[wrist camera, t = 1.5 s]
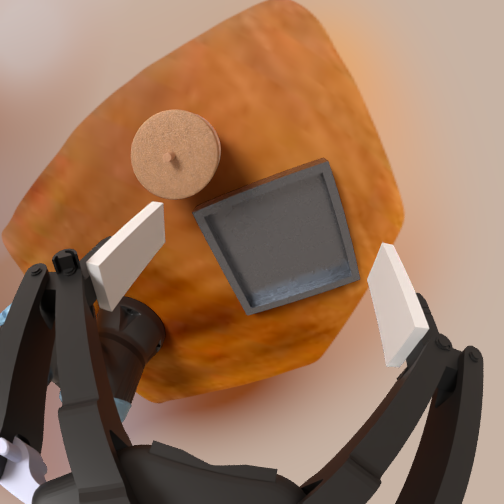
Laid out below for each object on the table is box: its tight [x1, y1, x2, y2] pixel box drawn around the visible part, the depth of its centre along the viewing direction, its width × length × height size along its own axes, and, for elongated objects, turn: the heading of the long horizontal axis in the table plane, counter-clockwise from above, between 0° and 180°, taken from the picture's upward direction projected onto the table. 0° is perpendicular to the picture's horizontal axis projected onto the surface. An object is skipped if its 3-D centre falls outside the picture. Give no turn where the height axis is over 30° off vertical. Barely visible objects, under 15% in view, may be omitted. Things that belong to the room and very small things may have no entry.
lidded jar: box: [131, 110, 221, 200], centre depth 31 cm, size 11×11×9 cm
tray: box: [192, 158, 360, 315], centre depth 40 cm, size 19×19×3 cm
